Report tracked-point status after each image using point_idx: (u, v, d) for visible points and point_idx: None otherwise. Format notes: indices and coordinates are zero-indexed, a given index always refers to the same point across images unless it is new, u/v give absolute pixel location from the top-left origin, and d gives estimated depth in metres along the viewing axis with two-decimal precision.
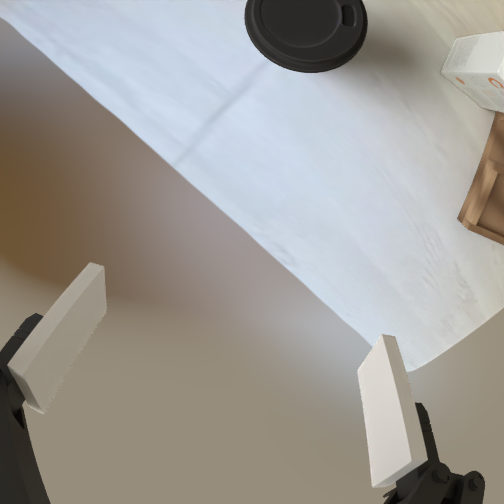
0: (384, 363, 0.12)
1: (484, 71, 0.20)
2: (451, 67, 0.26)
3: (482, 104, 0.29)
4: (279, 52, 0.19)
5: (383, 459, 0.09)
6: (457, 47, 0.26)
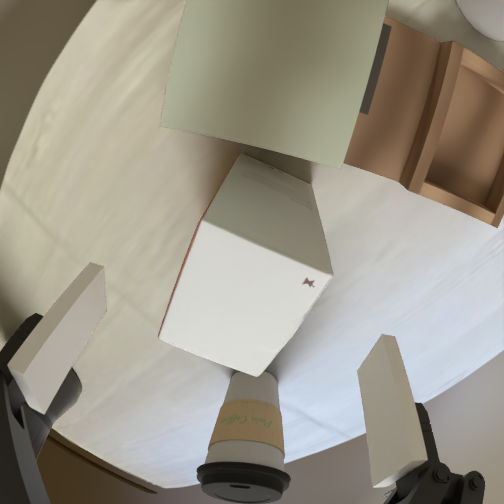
0: (384, 363, 0.12)
1: None
2: None
3: None
4: None
5: (383, 459, 0.09)
6: None
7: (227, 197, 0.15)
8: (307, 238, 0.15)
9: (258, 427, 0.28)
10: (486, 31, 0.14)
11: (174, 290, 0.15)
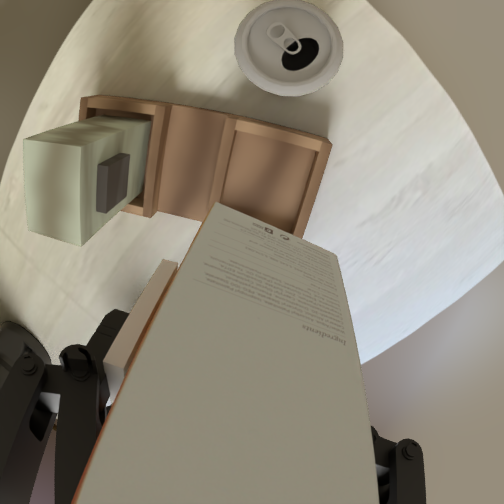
0: None
1: None
2: None
3: None
4: None
5: None
6: None
7: (149, 395, 0.06)
8: (339, 474, 0.05)
9: None
10: None
11: None
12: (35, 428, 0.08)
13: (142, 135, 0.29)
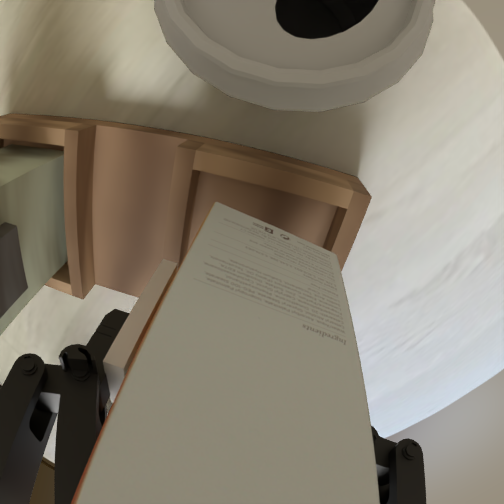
0: None
1: None
2: None
3: None
4: None
5: None
6: None
7: (149, 395, 0.06)
8: (339, 473, 0.05)
9: None
10: None
11: None
12: (35, 428, 0.08)
13: (52, 179, 0.16)
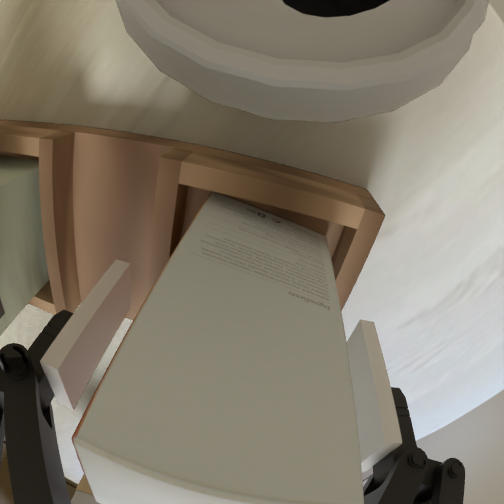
0: (361, 347, 0.13)
1: None
2: None
3: None
4: None
5: None
6: None
7: (149, 341, 0.07)
8: (319, 418, 0.07)
9: None
10: None
11: (88, 482, 0.06)
12: None
13: (29, 193, 0.14)
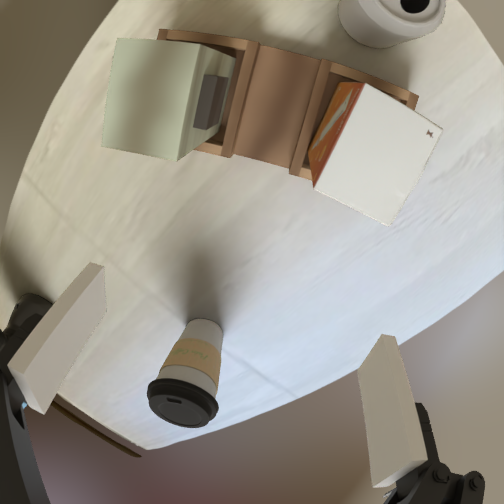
0: (384, 363, 0.12)
1: None
2: None
3: None
4: None
5: (383, 459, 0.09)
6: None
7: None
8: None
9: (195, 357, 0.39)
10: (365, 42, 0.24)
11: (338, 138, 0.18)
12: None
13: (229, 69, 0.26)
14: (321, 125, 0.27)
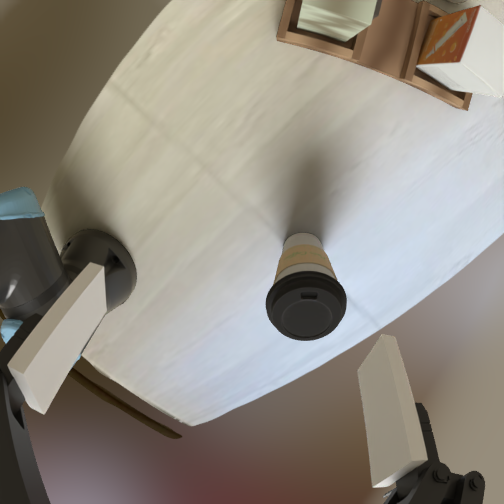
0: (384, 363, 0.12)
1: (489, 95, 0.23)
2: (453, 88, 0.29)
3: None
4: (333, 329, 0.36)
5: (383, 459, 0.09)
6: (430, 73, 0.30)
7: None
8: None
9: (317, 257, 0.38)
10: None
11: (470, 33, 0.18)
12: None
13: None
14: (428, 44, 0.27)
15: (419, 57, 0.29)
